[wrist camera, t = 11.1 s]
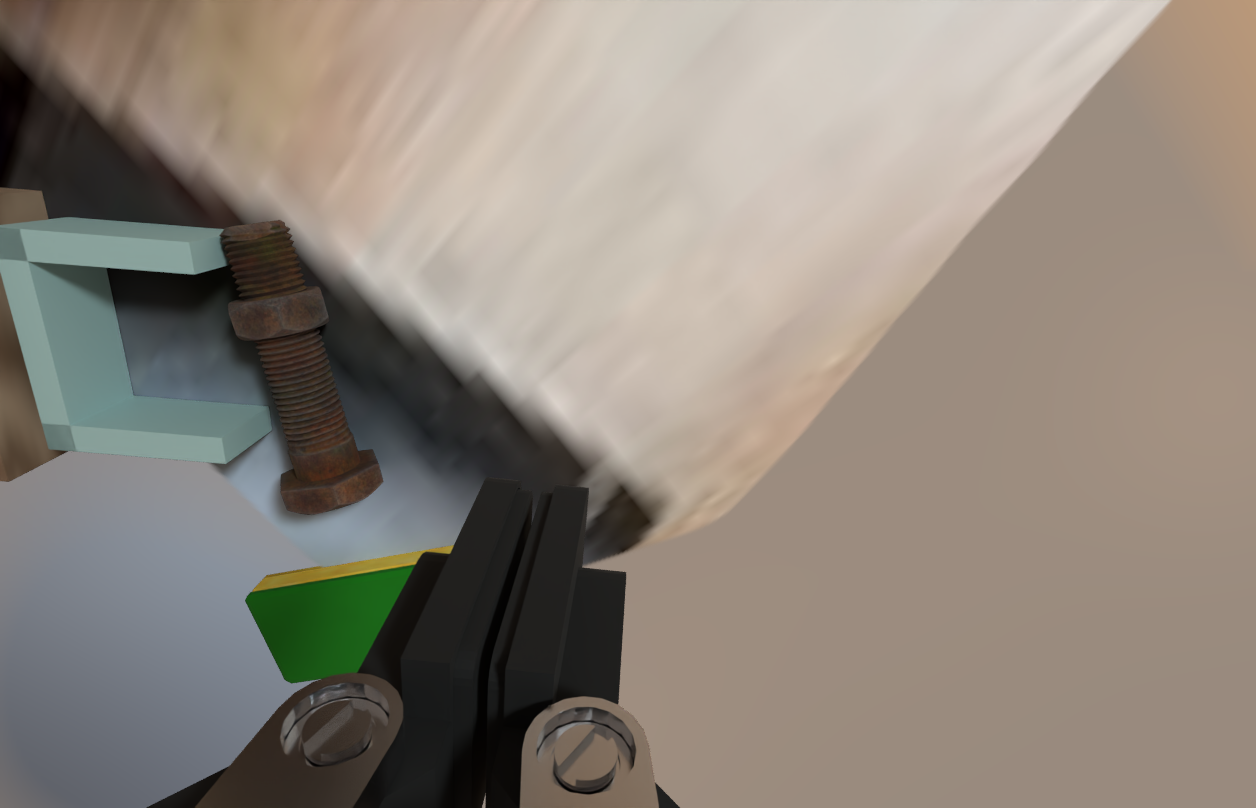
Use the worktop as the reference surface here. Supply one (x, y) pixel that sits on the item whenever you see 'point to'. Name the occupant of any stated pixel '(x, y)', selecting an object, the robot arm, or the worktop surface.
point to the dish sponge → (328, 613)
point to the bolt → (297, 370)
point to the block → (109, 339)
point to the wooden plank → (18, 364)
